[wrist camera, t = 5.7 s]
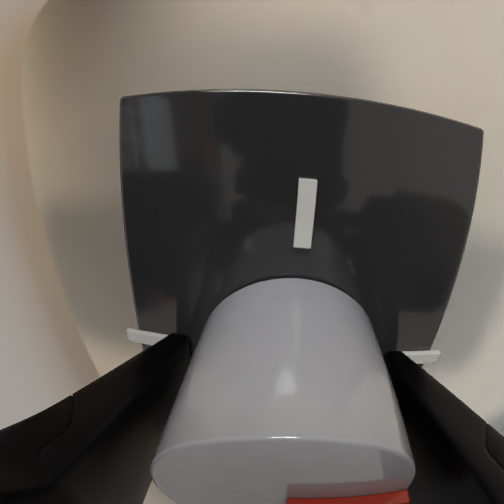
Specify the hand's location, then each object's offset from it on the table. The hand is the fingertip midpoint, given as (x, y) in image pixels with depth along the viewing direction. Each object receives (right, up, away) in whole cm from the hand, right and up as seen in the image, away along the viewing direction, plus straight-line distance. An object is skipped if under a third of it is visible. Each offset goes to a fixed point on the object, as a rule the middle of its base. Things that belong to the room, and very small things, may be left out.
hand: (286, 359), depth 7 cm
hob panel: (0, +1, +3) cm, 3 cm away
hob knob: (0, 0, 0) cm, 0 cm away
